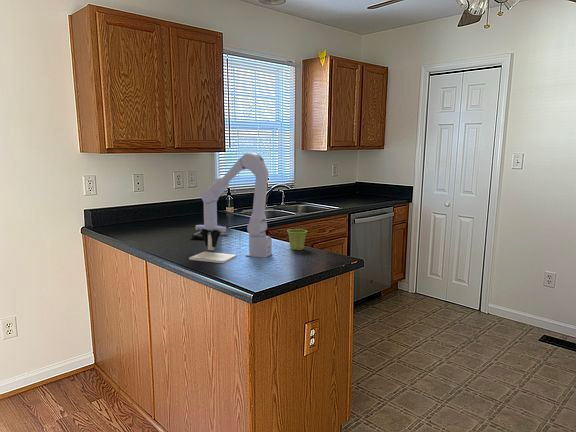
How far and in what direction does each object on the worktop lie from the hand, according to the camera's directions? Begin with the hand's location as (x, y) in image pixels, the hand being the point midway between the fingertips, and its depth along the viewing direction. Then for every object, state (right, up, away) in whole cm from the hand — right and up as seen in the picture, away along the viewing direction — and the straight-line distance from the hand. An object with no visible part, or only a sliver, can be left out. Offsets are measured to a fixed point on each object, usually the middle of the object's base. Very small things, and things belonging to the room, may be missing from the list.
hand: (211, 246), depth 191 cm
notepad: (+3, -4, -11) cm, 12 cm away
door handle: (-6, +2, +34) cm, 35 cm away
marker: (0, -2, 0) cm, 2 cm away
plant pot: (+39, -2, +7) cm, 40 cm away
